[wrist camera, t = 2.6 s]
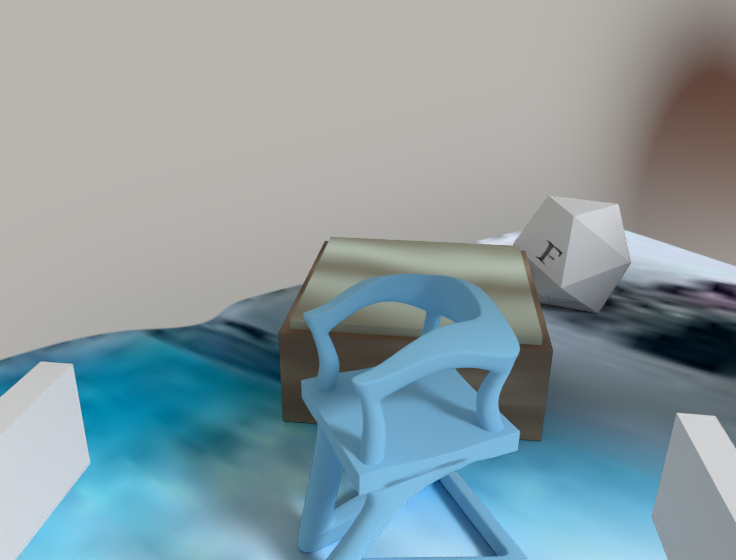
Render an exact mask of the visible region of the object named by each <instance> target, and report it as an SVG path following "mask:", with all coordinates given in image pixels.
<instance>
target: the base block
mask: <svg viewBox="0 0 736 560" xmlns="http://www.w3.org/2000/svg"><path fill="white" fill-rule="evenodd" d="M406 273H411V274H429V275H444V276H451V277H454V278H458V279H462V280H465V281H468V282H470V283H472V284H474V285H476V286H478V287H480V288H481V289H482V290H483V291H484V292H485V293H486V294H487V295H488V296H489V297H490V298H491V299H492V301H493V302H494V303H495V304H496V306H497V307H498V309H499V310H500V311H501V313H502V314H503V316H504V317H505V319H506V320H507V322H508V324H509V325H510V327H511V329H512V330H513V332H514V334H515V336H516V338H517V340H518V343H519V346H520V351H519V354H518V356H517V358H516V360H515V362H514V364H513V367H512V369H511V371H510V373H509V375H508V377H507V379H506V380H505V382H504V384H503V386H502V389H501V392H500V394H499V400H498V406H499V411H500V413H501V414H502V415H503V416H504V417H505V418H507V419H508V420H509V421H510V422H511V423H512V424H513V425H514V426H515V427H516V428H517V429H518V430H519V431H520V436H519V439H522V440H535V441H541V434H542V427H543V420H544V413H545V405H546V398H547V391H548V383H549V376H550V369H551V362H552V354H553V349H552V345H551V342H550V338H549V335H548V331H547V327H546V324H545V320H544V316H543V313H542V309H541V306H540V302H539V298H538V295H537V291H536V288H535V284H534V280H533V277H532V273H531V270H530V266H529V262H528V259H527V255H526V251H522V250H520V247H519V246H508V245H487V244H467V243H446V242H425V241H404V240H384V239H364V238H341V237H331V238H330V240H329V241H325V242H324V244H323V246H322V248H321V250H320V252H319V254H318V256H317V258H316V260H315V262H314V264H313V266H312V268H311V270H310V272H309V274H308V276H307V278H306V280H305V282H304V284H303V286H302V288H301V290H300V292H299V294H298V296H297V298H296V300H295V302H294V304H293V306H292V308H291V310H290V312H289V314H288V316H287V318H286V320H285V322H284V324H283V325H282V327H281V329H280V331H279V351H280V371H281V391H282V411H283V421H289V422H302V423H315V424H318V423H317V421H316V420H315V418H314V417H313V416H312V414H311V412H310V411H309V409H308V407H307V406H306V404H305V402H304V401H303V399H302V388H301V380H304V379H309V378H314V377H317V375H318V372H319V365H320V364H319V355H318V350H317V347H316V343H315V341H314V338H313V335H312V332H311V330H310V328H309V326H308V324H307V322H306V320H305V319H304V317H303V313H304V312H307V311H309V310H312V309H315V308H317V307H320V306H322V305H324V304H325V303H327V302H329V301H330V300H332V299H333V298H335V297H336V296H338V295H339V294H341V293H342V292H344V291H345V290H347V289H348V288H350V287H351V286H353V285H355V284H357V283H358V282H360V281H362V280H365V279H368V278H370V277H376V276H384V275H392V274H406ZM425 316H426V311H424V310H422V309H420V308H417V307H415V306H412V305H408V304H405V303H400V302H393V301H390V302H378V303H375V304H372V305H369V306H366V307H364V308H362V309H360V310H358V311H356V312H355V313H353V314H352V315H350V316H349V317H347V318H346V319H344V320H343V321H341V322H340V323H339V324H337V325H336V326H335V327H334V328H332V329H331V330H330V331H329V336H330V338H331V340H332V343H333V345H334V347H335V350H336V353H337V356H338V360H339V373H341V372H349V371H356V370H361V369H366V368H371V367H375V366H378V365H379V364H381V363H383V362H384V361H385V360H387V359H388V358H390V357H391V356H393V355H394V354H395V353H397V352H398V351H400V350H401V349H402V348H404V347H405V346H407V345H408V344H410V343H411V342H413V341H414V340H416V339H417V338H419V337H420V336H422V331H423V325H424V321H425ZM452 323H455V322H453V321H452V320H450V319H448V318H446V317H443V316H441V323H440V327H442V326H445V325H449V324H452ZM455 369H456V371H457V372H458V373H459V374H460V375H461V376H462V377H463V378H464V380H465V381H466V382H467V383H468V384H469V385H470V386H471V387H472V388H473V389H474V390H475V391H476V392H477V393H478V390H479V388H480V386H481V384H482V382H483V381H484V379H485V378H486V376H487V375H488V374H489V372H490V371H489V370H485V369H479V368H455Z"/></svg>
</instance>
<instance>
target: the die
mask: <svg viewBox="0 0 736 560" xmlns="http://www.w3.org/2000/svg"><path fill="white" fill-rule="evenodd" d="M513 246H519V247H520V250H522V251H526V255H527V259H528V262H529V266H530V270H531V273H532V277H533V280H534V284H535V288H536V291H537V295H538V298H539V302H540V303H543V304H549V305H554V306H559V307H565V308H570V309H576V310H581V311H587V312H592V313H599V311H600V310H601V308H602V307H603V305H604V304H605V302H606V301H607V299H608V298H609V296H610V295H611V293H612V291H613V290H614V288H615V287H616V285H617V284H618V282H619V281H620V279H621V278H622V276H623V275H624V273H625V272H626V270H627V268H628V267H629V265H630V264H631V261H630V256H629V251H628V247H627V242H626V238H625V233H624V228H623V224H622V219H621V215H620V210H619V205H618V204H613V203H605V202H597V201H588V200H580V199H572V198H564V197H556V196H548V197H547V198H546V200H545V201H544V202H543V204H542V205H541V207H540V208H539V210H538V211H537V212H536V213H535V215H534V216H533V217H532V219H531V220H530V222H529V223H528V224H527V226H526V227H525V228H524V230H523V231H522V233H521V234H520V235H519V237H518V238H517V239H516V241H515V242H514V244H513Z"/></svg>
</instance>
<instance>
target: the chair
mask: <svg viewBox="0 0 736 560" xmlns="http://www.w3.org/2000/svg"><path fill="white" fill-rule="evenodd" d="M390 301H393V302H400V303H405V304H408V305H412V306H415V307H417V308H420V309H422V310H424V311H426V316H425V321H424V325H423V331H422V336H420V337H419V338H417V339H416V340H414V341H413V342H411V343H410V344H408V345H407V346H405V347H404V348H402V349H401V350H400V351H398V352H397V353H395V354H394V355H393V356H391V357H390V358H388V359H387V360H385V361H384V362H383V363H381V364H379V365H378V366H375V367H371V368H366V369H361V370H356V371H349V372H341V373H339V360H338V356H337V353H336V350H335V347H334V345H333V343H332V340H331V338H330V336H329V331H330V330H331V329H332V328H334V327H335V326H336V325H337V324H339V323H340V322H341V321H343V320H344V319H346V318H347V317H349V316H350V315H352V314H353V313H355V312H356V311H358V310H360V309H362V308H364V307H366V306H369V305H372V304H375V303H378V302H390ZM441 316H443V317H446V318H448V319H450V320H452V321H453V322H455V323H452V324H449V325H445V326H442V327H440V323H441ZM303 317H304V319H305V320H306V322H307V324H308V326H309V328H310V330H311V332H312V335H313V338H314V341H315V343H316V347H317V350H318V355H319V364H320V365H319V372H318V375H317V377H314V378H309V379H304V380H301V388H302V399H303V401H304V402H305V404H306V406H307V407H308V409H309V411H310V412H311V414H312V416H313V417H314V418H315V420H316V421H317V423H318V427H317V436H316V444H315V450H314V456H313V462H312V468H311V473H310V478H309V483H308V489H307V494H306V498H305V503H304V508H303V513H302V518H301V523H300V527H299V534H298V548H299V549H300V551H303V552H313V551H316V550H319V549H321V548H323V547H325V546H328V545H330V544H331V543H333V542H335V541H337V540H338V539H340V538H342V537H343V536H344V537H343V538H342V539H341V541H340V542H339V543H338V545H337V546H336V547H335V549H334V550H333V551H332V553H331V554H330V555H329V557H328V558H327V559H326V560H528V559H527V557H526V555H525V554H524V553H523V552H522V551H521V549H520V548H519V547H518V546H517V544H516V543H515V542H514V541H513V540H512V538H511V537H510V536H509V535H508V533H507V532H506V531H505V530H504V529H503V527H502V526H501V525H500V524H499V522H498V521H497V520H496V519H495V518H494V516H493V515H492V514H491V513H490V511H489V510H488V509H487V508H486V507H485V505H484V504H483V503H482V502H481V500H480V499H479V498H478V497H477V496H476V494H475V493H474V492H473V491H472V490H471V488H470V487H469V486H468V485H467V483H466V482H465V481H464V480H463V479H462V477H461V476H460V475H459V474H458V472H457V471H456V470H459V469H461V468H463V467H465V466H467V465H469V464H471V463H472V462H474V461H480V460H486V459H490V458H494V457H497V456H501V455H504V454H508V453H511V452H515V451H518V444H519V436H520V431H519V430H518V429H517V428H516V427H515V426H514V425H513V424H512V423H511V422H510V421H509V420H508V419H507V418H505V417H504V416H503V415H502V414H501V413H500V411H499V406H498V400H499V394H500V392H501V389H502V386H503V384H504V382H505V380H506V379H507V377H508V375H509V373H510V371H511V369H512V367H513V364H514V362H515V360H516V358H517V356H518V354H519V351H520V346H519V343H518V340H517V338H516V336H515V334H514V332H513V330H512V329H511V327H510V325H509V324H508V322H507V320H506V319H505V317H504V316H503V314H502V313H501V311H500V310H499V309H498V307H497V306H496V304H495V303H494V302H493V301H492V299H491V298H490V297H489V296H488V295H487V294H486V293H485V292H484V291H483V290H482V289H481V288H480V287H478V286H476V285H474V284H472V283H470V282H468V281H465V280H462V279H458V278H454V277H451V276H444V275H429V274H411V273H406V274H392V275H384V276H376V277H370V278H368V279H365V280H362V281H360V282H358V283H357V284H355V285H353V286H351V287H350V288H348V289H347V290H345V291H344V292H342V293H341V294H339V295H338V296H336V297H335V298H333V299H332V300H330V301H329V302H327V303H325V304H324V305H322V306H320V307H317V308H315V309H312V310H309V311H307V312H304V313H303ZM455 368H479V369H485V370H489V371H490V372H489V374H488V375H487V376H486V378H485V379H484V381H483V382H482V384H481V386H480V388H479V390H478V393H477V392H476V391H475V390H474V389H473V388H472V387H471V386H470V385H469V384H468V383H467V382H466V381H465V380H464V378H463V377H462V376H461V375H460V374H459V373H458V372H457V371H456V369H455ZM343 468H344V470H345V472H346V474H347V476H348V478H349V479H350V481H351V483H352V484H353V486H354V488H355V490H356V491H357V493H358V495H357V496H355V497H353V498H352V499H350V500H348V501H346V502H345V503H343V504H341V505H340V506H338V507H336V508H335V503H336V497H337V492H338V487H339V483H340V478H341V474H342V469H343ZM438 479H439V480H440V481H441V483H442V484H443V485H444V487H445V488H446V489H447V491H448V492H449V493H450V494H451V496H452V497H453V498H454V500H455V501H456V502H457V504H458V505H459V506H460V507H461V509H462V510H463V511H464V513H465V514H466V515H467V517H468V518H469V519H470V520H471V522H472V523H473V524H474V526H475V527H476V528H477V530H478V531H479V532H480V533H481V535H482V536H483V537H484V539H485V540H486V541H487V543H488V544H489V545H490V546H491V548H492V549H493V550H494V552H495V553H496V554H497V556H492V557H414V558H364V559H361V558H362V557H363V555H364V554H365V553H366V551H367V550H368V549H369V548H370V546H371V545H372V544H373V543H374V541H375V540H376V539H377V537H378V536H379V535H380V534H381V533H382V531H383V530H384V529H385V528H386V526H387V525H388V524H389V523H390V522H391V520H392V519H393V518H394V517H395V516H396V515H397V514H398V513H399V511H400V510H401V509H402V508H403V507H404V506H405V505H406V504H407V503H408V502H409V500H410V499H412V498H413V497H414V496H415V495H417V494H418V493H419V492H420V491H422V490H423V489H424V488H426V487H427V486H429V485H430V484H432V483H433V482H435V481H437V480H438Z"/></svg>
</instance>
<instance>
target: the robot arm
mask: <svg viewBox="0 0 736 560" xmlns="http://www.w3.org/2000/svg"><path fill="white" fill-rule="evenodd" d="M89 464H90V459H89V453H88V448H87V442H86V436H85V431H84V425H83V419H82V413H81V408H80V402H79V396H78V390H77V385H76V379H75V373H74V368H73V364H66V363H54V362H40V363H38V364H37V365H36V366H35V367H34V368H33V369H32V370H31V371H29V372H28V373H27V374H26V375H25V376H24V377H23V378H22V379H20V380H19V381H18V382H17V383H16V384H15V385H14V386H13V387H12V388H10V389H9V390H8V391H7V392H6V393H5V394H4V395H3V396H1V397H0V560H16V558H17V557H18V556H19V555H20V553H21V552H22V551H23V549H24V548H25V547H26V546H27V544H28V543H29V542H30V540H31V539H32V538H33V537H34V535H35V534H36V533H37V531H38V530H39V529H40V527H41V526H42V525H43V524H44V522H45V521H46V520H47V518H48V517H49V516H50V515H51V513H52V512H53V511H54V509H55V508H56V507H57V505H58V504H59V503H60V502H61V500H62V499H63V498H64V496H65V495H66V494H67V493H68V491H69V490H70V489H71V487H72V486H73V485H74V484H75V482H76V481H77V480H78V478H79V477H80V476H81V474H82V473H83V472H84V471H85V469H86V468H87V467H88V465H89ZM652 519H653V522H654V525H655V527H656V530H657V532H658V535H659V538H660V540H661V543H662V545H663V548H664V551H665V553H666V556H667V559H668V560H736V448H735V447H734V445H733V443H732V442H731V440H730V439H729V437H728V435H727V434H726V432H725V431H724V429H723V427H722V426H721V424H720V423H719V421H718V419H717V418H716V416H710V415H698V414H686V413H676V417H675V422H674V426H673V430H672V434H671V438H670V442H669V446H668V451H667V455H666V459H665V463H664V467H663V471H662V476H661V480H660V484H659V488H658V492H657V496H656V501H655V505H654V509H653V513H652Z"/></svg>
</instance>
